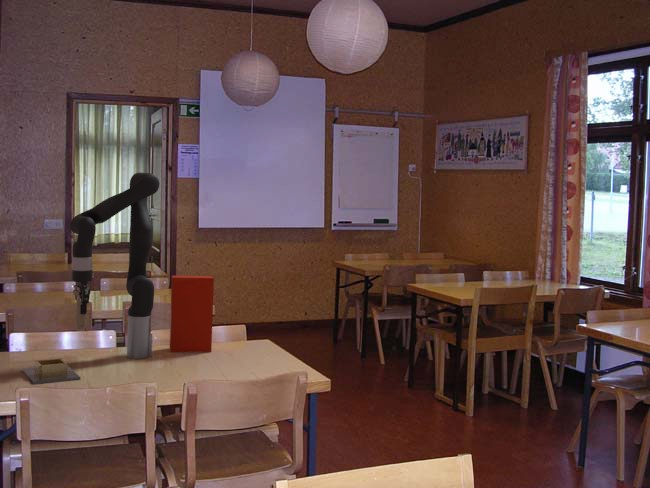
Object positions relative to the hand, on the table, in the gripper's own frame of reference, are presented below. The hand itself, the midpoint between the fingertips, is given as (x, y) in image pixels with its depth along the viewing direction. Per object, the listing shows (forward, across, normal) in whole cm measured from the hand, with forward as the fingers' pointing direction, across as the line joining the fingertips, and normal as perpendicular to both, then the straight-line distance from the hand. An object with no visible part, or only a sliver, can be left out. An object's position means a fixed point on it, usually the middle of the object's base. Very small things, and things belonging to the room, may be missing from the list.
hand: (81, 312), depth 281 cm
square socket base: (+21, -9, +13) cm, 26 cm away
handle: (+7, 0, 0) cm, 7 cm away
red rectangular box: (+22, +9, -49) cm, 54 cm away
